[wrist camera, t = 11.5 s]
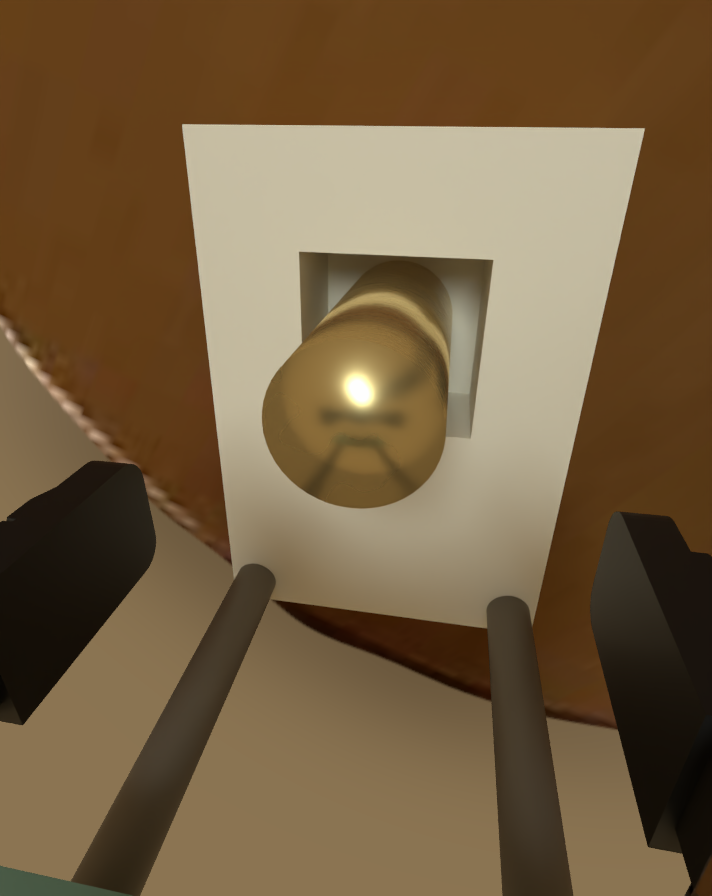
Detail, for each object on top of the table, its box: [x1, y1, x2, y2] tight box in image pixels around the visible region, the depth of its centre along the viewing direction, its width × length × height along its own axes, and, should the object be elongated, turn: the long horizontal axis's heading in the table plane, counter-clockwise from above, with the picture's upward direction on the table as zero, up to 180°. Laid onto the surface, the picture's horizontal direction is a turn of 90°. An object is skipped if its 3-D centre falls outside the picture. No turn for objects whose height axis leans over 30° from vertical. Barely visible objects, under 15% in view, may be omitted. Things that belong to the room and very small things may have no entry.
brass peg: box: [262, 260, 453, 509], centre depth 16 cm, size 4×4×10 cm
